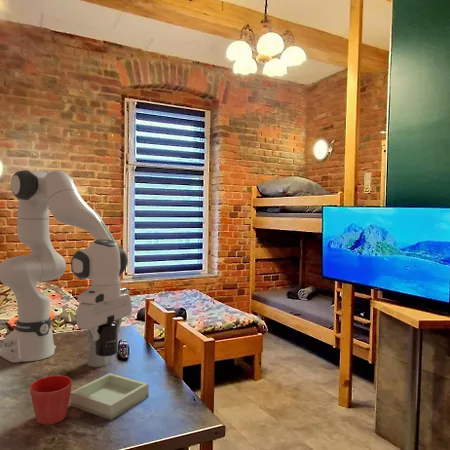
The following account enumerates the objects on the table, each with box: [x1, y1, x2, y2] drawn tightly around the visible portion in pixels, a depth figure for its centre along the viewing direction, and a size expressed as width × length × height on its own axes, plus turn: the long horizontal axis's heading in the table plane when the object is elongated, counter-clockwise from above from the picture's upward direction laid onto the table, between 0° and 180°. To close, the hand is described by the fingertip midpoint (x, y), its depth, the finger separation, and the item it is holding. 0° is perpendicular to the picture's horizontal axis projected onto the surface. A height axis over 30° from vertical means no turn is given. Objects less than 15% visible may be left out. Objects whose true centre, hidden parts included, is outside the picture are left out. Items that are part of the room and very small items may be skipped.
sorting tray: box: [69, 372, 150, 421], centre depth 125 cm, size 16×16×4 cm
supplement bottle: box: [95, 315, 119, 357], centre depth 130 cm, size 7×7×12 cm
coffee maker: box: [86, 329, 112, 368], centre depth 155 cm, size 15×9×18 cm, turn 158°
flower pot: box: [29, 374, 73, 426], centre depth 115 cm, size 11×11×10 cm
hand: (106, 336), depth 130 cm, fingers closed on supplement bottle, 7 cm apart
